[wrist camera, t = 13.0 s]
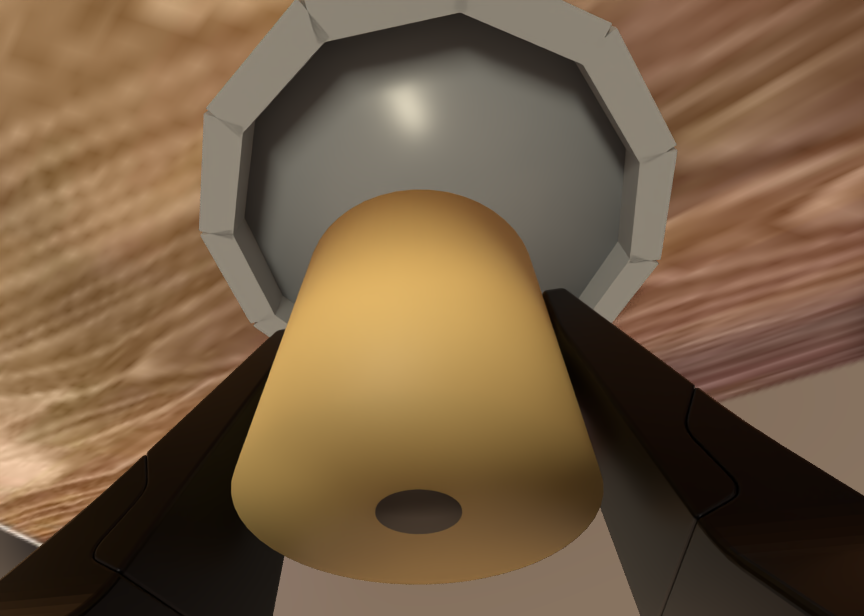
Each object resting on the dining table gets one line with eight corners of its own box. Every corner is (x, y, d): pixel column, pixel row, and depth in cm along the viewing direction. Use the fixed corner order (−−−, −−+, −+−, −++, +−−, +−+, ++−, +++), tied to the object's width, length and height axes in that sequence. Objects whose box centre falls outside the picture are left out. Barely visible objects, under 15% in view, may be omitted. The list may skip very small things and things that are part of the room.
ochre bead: (527, 167, 8) (616, 364, 4) (538, 357, 11) (596, 572, 8) (271, 214, 9) (151, 426, 5) (346, 383, 12) (308, 595, 8)
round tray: (671, -95, 13) (716, -101, 11) (624, 333, 24) (643, 369, 22) (135, 29, 15) (90, 43, 13) (312, 377, 26) (302, 414, 24)
